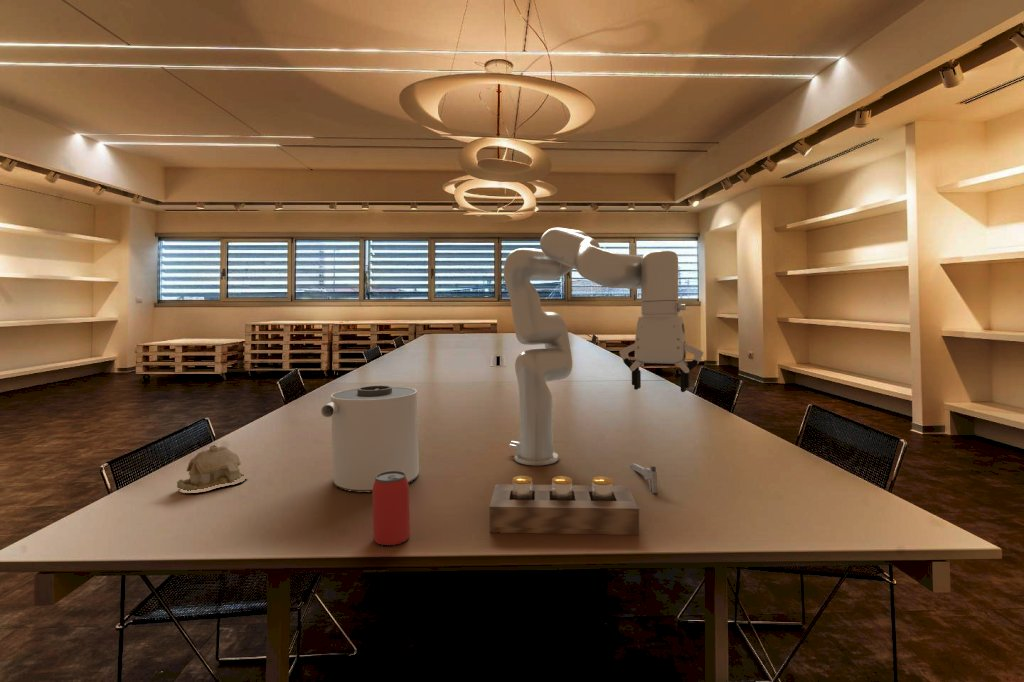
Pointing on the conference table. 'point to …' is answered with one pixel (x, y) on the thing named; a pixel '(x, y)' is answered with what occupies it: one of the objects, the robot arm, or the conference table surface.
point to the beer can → (391, 508)
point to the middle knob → (562, 488)
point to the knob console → (564, 512)
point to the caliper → (648, 475)
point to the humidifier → (373, 434)
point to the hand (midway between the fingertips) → (660, 389)
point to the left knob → (522, 488)
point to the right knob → (601, 489)
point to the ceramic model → (211, 469)
